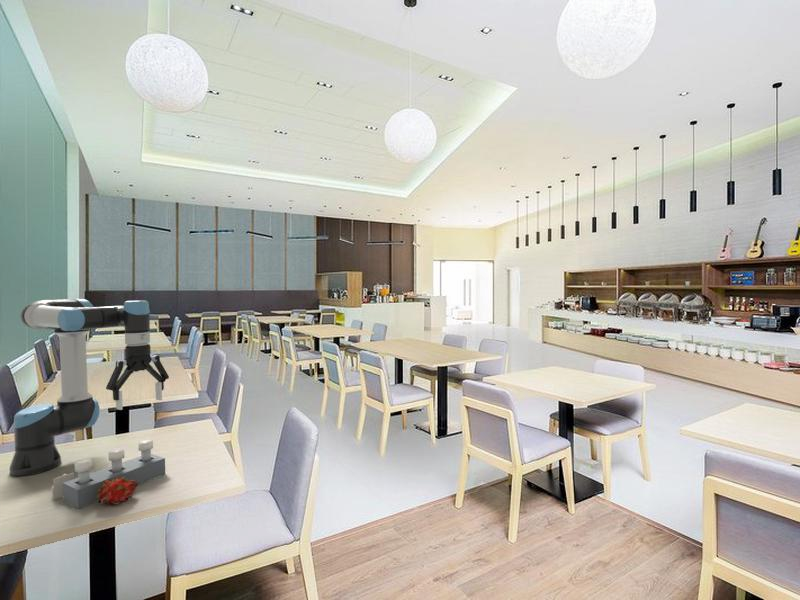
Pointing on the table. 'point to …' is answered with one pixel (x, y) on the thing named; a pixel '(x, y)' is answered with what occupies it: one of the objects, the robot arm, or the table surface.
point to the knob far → (145, 449)
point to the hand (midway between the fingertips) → (139, 404)
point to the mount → (130, 471)
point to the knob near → (83, 470)
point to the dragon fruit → (116, 490)
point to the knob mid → (116, 459)
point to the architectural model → (60, 485)
